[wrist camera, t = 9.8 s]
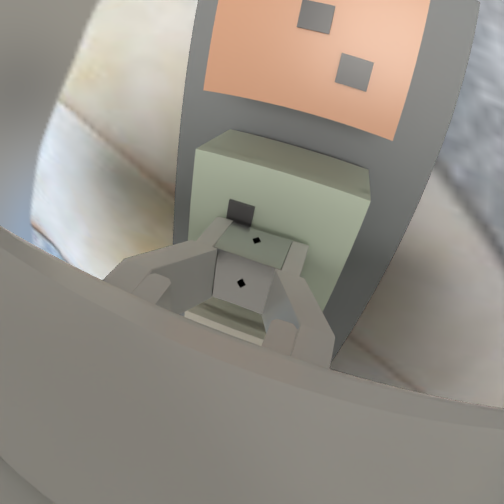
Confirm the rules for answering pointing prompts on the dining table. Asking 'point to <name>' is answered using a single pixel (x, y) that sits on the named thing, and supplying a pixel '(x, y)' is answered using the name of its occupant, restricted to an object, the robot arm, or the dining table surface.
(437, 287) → the dining table surface
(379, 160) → the board
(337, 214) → the sage tile
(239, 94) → the terracotta tile
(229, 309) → the cream tile
